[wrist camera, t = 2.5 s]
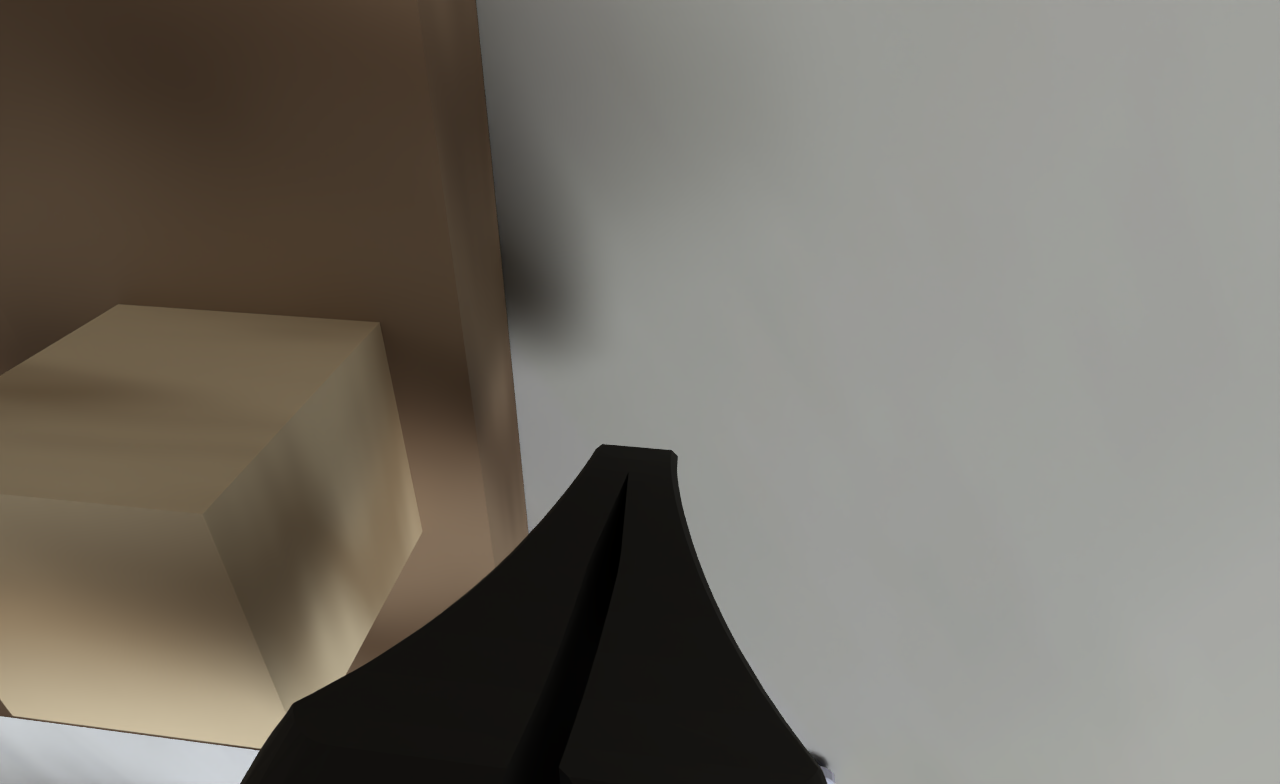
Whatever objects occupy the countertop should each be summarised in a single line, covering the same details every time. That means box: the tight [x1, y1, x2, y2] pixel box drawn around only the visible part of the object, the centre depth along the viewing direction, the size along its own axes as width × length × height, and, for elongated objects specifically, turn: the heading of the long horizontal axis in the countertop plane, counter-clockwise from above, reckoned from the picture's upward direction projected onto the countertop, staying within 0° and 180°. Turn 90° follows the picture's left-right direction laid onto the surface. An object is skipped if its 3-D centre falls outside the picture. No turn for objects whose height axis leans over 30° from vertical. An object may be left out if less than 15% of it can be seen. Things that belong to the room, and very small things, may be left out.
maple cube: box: [0, 304, 422, 749], centre depth 12 cm, size 5×5×5 cm
